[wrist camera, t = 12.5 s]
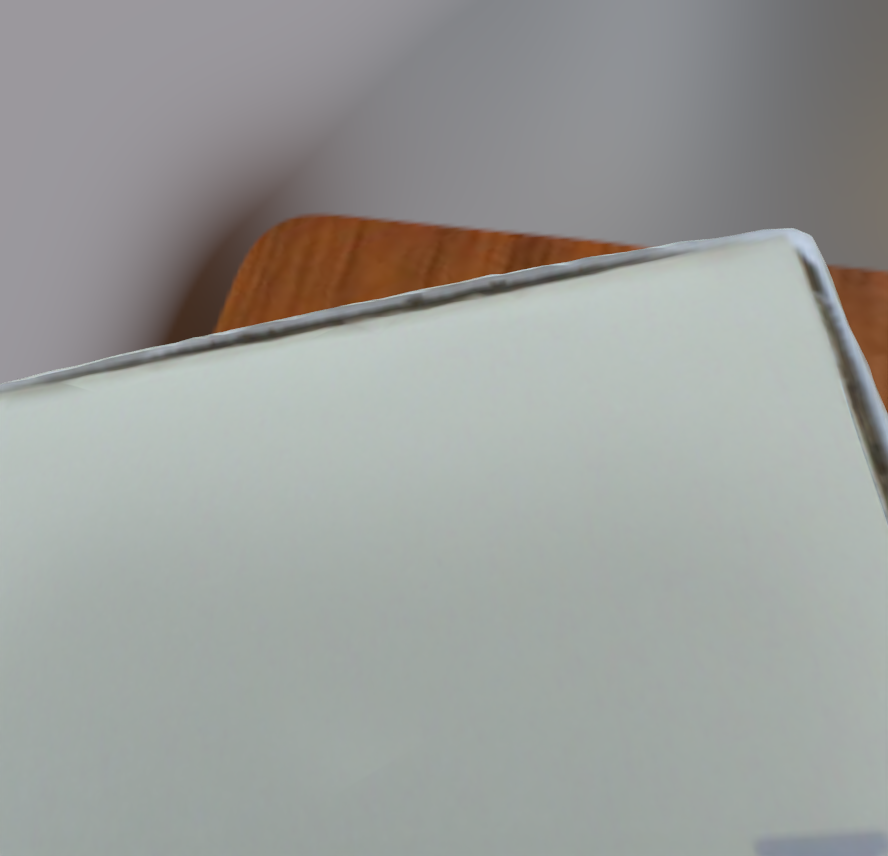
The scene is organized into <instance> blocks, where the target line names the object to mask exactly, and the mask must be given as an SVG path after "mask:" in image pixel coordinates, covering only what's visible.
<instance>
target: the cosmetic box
mask: <svg viewBox="0 0 888 856" xmlns="http://www.w3.org/2000/svg"><path fill="white" fill-rule="evenodd" d="M0 856H888V414H887V411H886V409H885V406H884V404H883V402H882V399H881V397H880V395H879V392H878V390H877V388H876V385H875V383H874V381H873V377H872V374H871V371H870V367H869V365H868V363H867V361H866V359H865V357H864V355H863V353H862V351H861V348H860V346H859V344H858V342H857V340H856V338H855V336H854V334H853V332H852V330H851V328H850V326H849V324H848V321H847V318H846V315H845V313H844V310H843V307H842V305H841V302H840V299H839V297H838V294H837V291H836V288H835V286H834V283H833V280H832V278H831V275H830V272H829V270H828V268H827V266H826V263H825V261H824V259H823V257H822V255H821V253H820V251H819V249H818V247H817V245H816V244H815V241H814V240H813V238H812V236H811V235H808V234H806V233H804V232H801V231H799V230H796V229H793V228H785V229H764V230H759V231H754V232H749V233H743V234H738V235H733V236H727V237H721V238H715V239H704V240H693V241H682V242H676V243H672V244H667V245H663V246H657V247H652V248H646V249H641V250H635V251H630V252H623V253H616V254H608V255H601V256H594V257H588V258H583V259H579V260H574V261H570V262H565V263H559V264H552V265H546V266H540V267H535V268H530V269H525V270H520V271H515V272H511V273H506V274H493V275H487V276H483V277H479V278H475V279H471V280H467V281H462V282H458V283H453V284H448V285H443V286H437V287H432V288H427V289H421V290H416V291H412V292H407V293H403V294H399V295H395V296H391V297H387V298H382V299H377V300H371V301H365V302H360V303H354V304H349V305H344V306H340V307H336V308H331V309H326V310H321V311H316V312H312V313H308V314H303V315H299V316H294V317H290V318H285V319H280V320H276V321H271V322H266V323H262V324H257V325H253V326H248V327H243V328H239V329H234V330H229V331H225V332H220V333H215V334H210V335H207V336H202V337H197V338H191V339H187V340H184V341H181V342H178V343H173V344H168V345H162V346H157V347H151V348H147V349H143V350H138V351H133V352H129V353H125V354H120V355H116V356H112V357H108V358H105V359H101V360H97V361H93V362H89V363H85V364H81V365H77V366H74V367H68V368H63V369H57V370H53V371H49V372H45V373H41V374H38V375H34V376H30V377H27V378H23V379H19V380H15V381H11V382H6V383H2V384H0Z"/></svg>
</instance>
